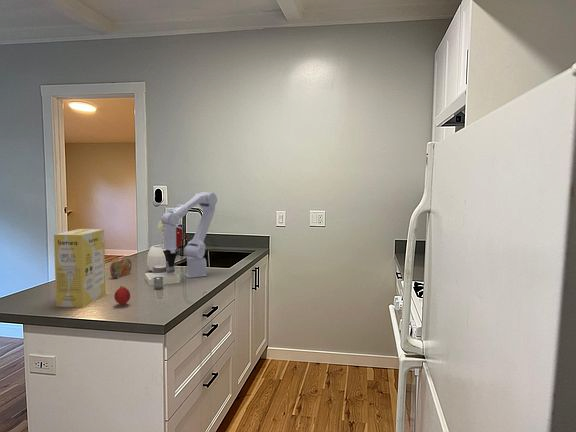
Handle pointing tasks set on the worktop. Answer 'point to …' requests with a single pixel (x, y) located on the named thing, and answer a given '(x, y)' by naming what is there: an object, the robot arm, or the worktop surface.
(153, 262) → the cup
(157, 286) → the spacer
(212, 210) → the robot arm
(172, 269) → the cylinder
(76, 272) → the pasta box
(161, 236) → the flower in vase
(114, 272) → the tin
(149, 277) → the kitchen scale
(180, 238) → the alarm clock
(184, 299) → the worktop surface
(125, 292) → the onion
